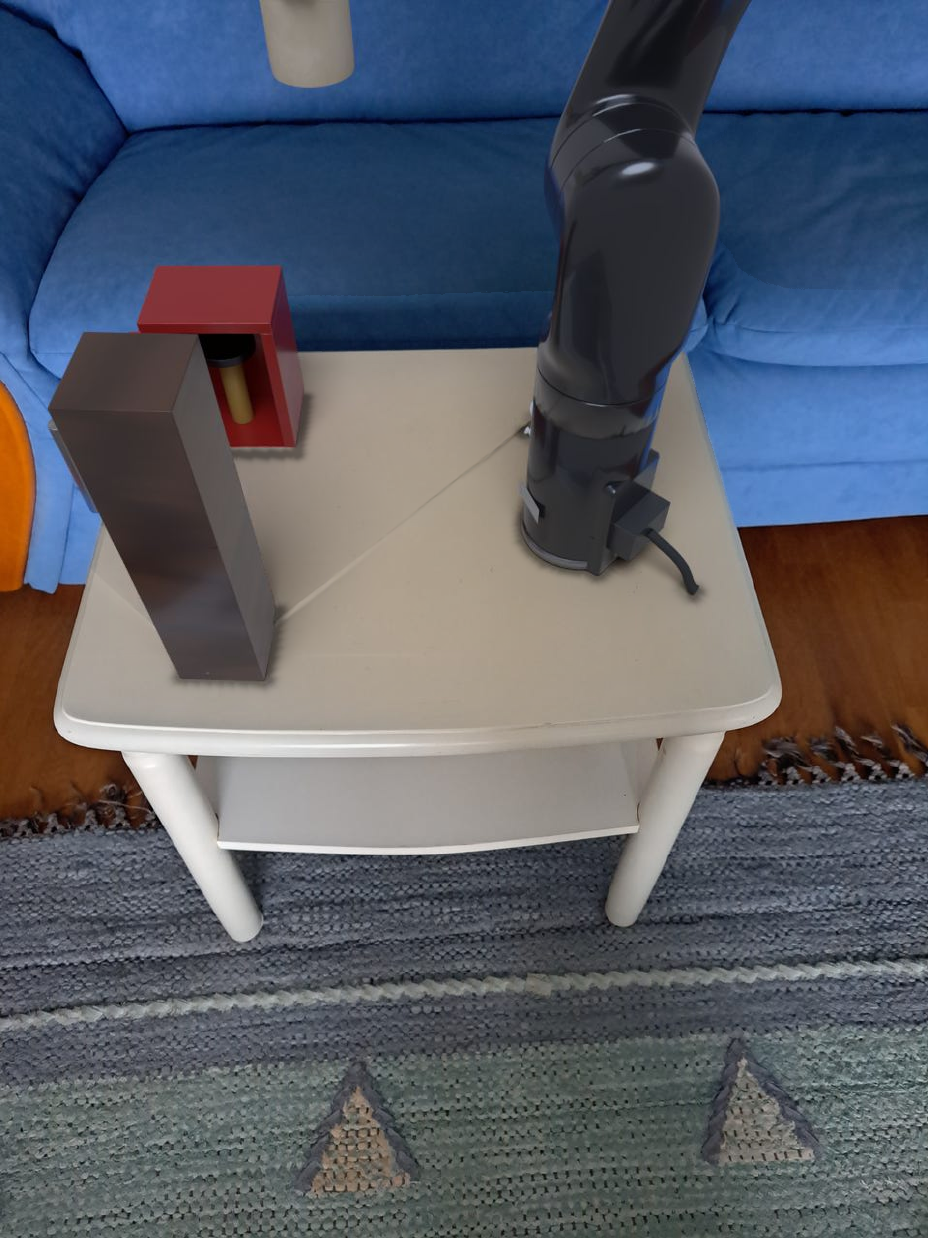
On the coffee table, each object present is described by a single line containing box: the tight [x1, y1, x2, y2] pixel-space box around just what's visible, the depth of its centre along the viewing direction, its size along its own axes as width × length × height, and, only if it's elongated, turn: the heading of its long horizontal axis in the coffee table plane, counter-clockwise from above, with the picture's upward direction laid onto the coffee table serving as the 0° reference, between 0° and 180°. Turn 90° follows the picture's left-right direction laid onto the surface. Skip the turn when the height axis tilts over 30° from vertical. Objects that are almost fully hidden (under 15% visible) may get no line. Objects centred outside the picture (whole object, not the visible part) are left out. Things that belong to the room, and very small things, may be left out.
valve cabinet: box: [136, 264, 305, 448], centre depth 76 cm, size 8×10×14 cm
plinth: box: [47, 331, 277, 682], centre depth 57 cm, size 6×6×26 cm
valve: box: [198, 334, 256, 424], centre depth 77 cm, size 5×5×8 cm
